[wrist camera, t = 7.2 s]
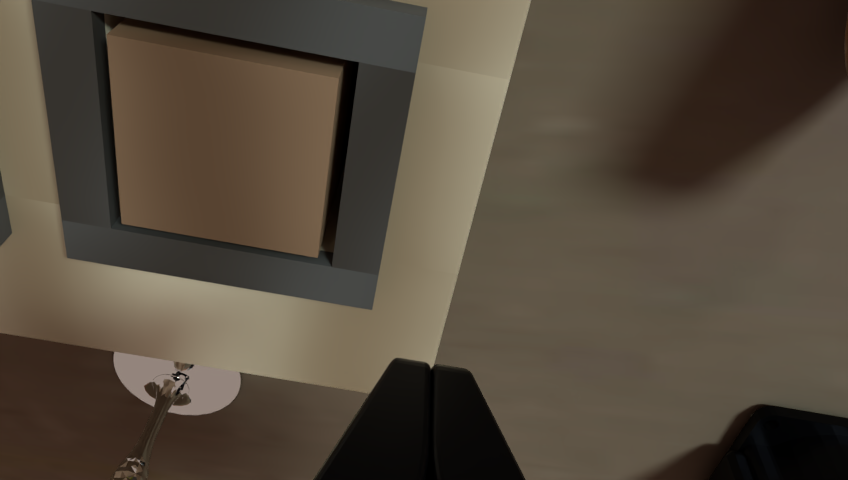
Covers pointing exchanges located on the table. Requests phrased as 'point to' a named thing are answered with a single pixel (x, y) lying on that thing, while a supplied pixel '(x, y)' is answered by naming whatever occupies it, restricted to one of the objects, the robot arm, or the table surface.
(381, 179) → the board
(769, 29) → the table surface
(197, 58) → the peg
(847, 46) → the tin
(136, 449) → the wineglass
